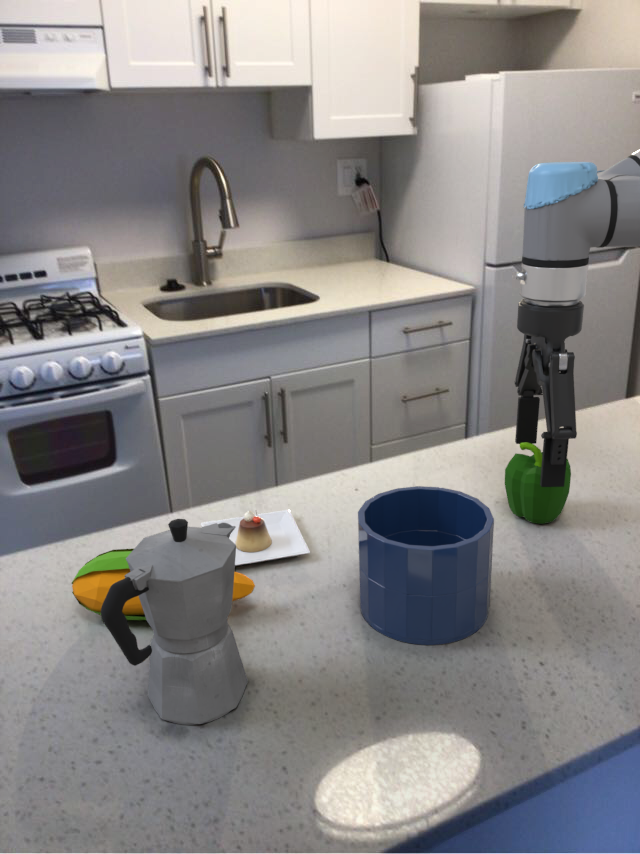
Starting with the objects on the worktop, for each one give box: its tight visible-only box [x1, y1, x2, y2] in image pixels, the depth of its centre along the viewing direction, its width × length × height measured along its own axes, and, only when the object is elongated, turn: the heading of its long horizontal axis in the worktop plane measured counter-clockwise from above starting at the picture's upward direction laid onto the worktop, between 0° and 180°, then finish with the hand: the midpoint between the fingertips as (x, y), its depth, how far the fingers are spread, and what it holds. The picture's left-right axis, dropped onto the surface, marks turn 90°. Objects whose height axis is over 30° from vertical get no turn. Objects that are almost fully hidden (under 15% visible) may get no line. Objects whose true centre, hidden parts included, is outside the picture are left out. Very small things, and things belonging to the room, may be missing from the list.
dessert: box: [200, 508, 311, 567], centre depth 95 cm, size 12×12×5 cm
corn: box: [70, 547, 256, 621], centre depth 82 cm, size 7×8×20 cm
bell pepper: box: [504, 442, 572, 525], centre depth 98 cm, size 8×8×10 cm
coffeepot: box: [100, 518, 249, 726], centre depth 67 cm, size 15×9×18 cm, turn 145°
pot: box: [357, 485, 495, 646], centre depth 80 cm, size 14×14×11 cm
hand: (537, 463), depth 98 cm, fingers open, 13 cm apart
